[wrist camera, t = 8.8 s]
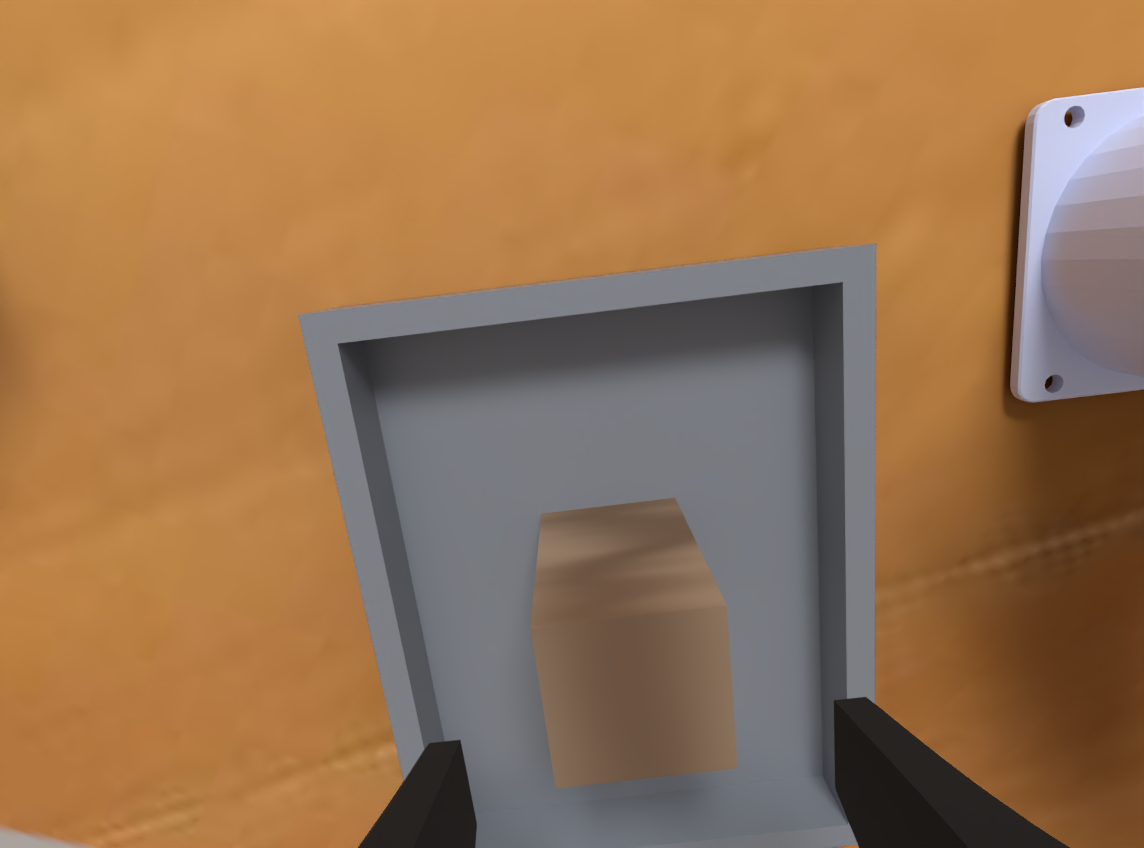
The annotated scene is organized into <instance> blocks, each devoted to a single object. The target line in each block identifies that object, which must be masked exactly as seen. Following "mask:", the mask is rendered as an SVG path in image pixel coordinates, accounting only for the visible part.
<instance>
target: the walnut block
mask: <svg viewBox="0 0 1144 848" xmlns="http://www.w3.org/2000/svg"><path fill="white" fill-rule="evenodd" d="M531 635H532V641H533V647H534V654H535V660H536V666H537V673H538V679H539V685H540V692H541V698H542V705H543V711H544V717H545V724H546V730H547V736H548V743H549V749H550V755H551V762H552V768H553V774H554V781H555V787H556V789H557V788H567V787H576V786H585V785H594V784H603V783H612V782H621V781H630V780H639V779H648V778H657V777H666V776H675V775H684V774H693V773H702V772H711V771H720V770H729V769H738V765H737V751H736V736H735V721H734V706H733V691H732V676H731V662H730V647H729V632H728V617H727V605H726V603H725V601H724V599H723V597H722V595H721V593H720V590H719V588H718V586H717V584H716V582H715V580H714V578H713V576H712V574H711V572H710V570H709V567H708V565H707V563H706V561H705V559H704V557H703V555H702V553H701V551H700V549H699V547H698V544H697V542H696V540H695V538H694V536H693V534H692V532H691V530H690V528H689V526H688V524H687V521H686V519H685V517H684V515H683V513H682V511H681V509H680V507H679V505H678V503H677V501H676V498H668V499H660V500H652V501H643V502H635V503H626V504H618V505H610V506H601V507H593V508H584V509H576V510H568V511H559V512H551V513H543V514H541V522H540V533H539V543H538V554H537V564H536V575H535V586H534V596H533V607H532V618H531Z"/></svg>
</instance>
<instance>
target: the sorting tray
mask: <svg viewBox="0 0 1144 848" xmlns="http://www.w3.org/2000/svg"><path fill="white" fill-rule="evenodd" d="M298 317H299V321H300V326H301V330H302V335H303V339H304V343H305V348H306V352H307V357H308V361H309V365H310V370H311V374H312V379H313V383H314V387H315V392H316V396H317V401H318V405H319V409H320V414H321V418H322V423H323V427H324V431H325V436H326V440H327V445H328V449H329V453H330V458H331V462H332V467H333V471H334V475H335V480H336V484H337V489H338V493H339V497H340V502H341V506H342V511H343V515H344V519H345V524H346V528H347V533H348V537H349V541H350V546H351V550H352V555H353V559H354V563H355V568H356V572H357V577H358V581H359V585H360V590H361V594H362V599H363V603H364V608H365V612H366V616H367V621H368V625H369V630H370V634H371V638H372V643H373V647H374V652H375V656H376V660H377V665H378V669H379V674H380V678H381V682H382V687H383V691H384V696H385V700H386V704H387V709H388V713H389V718H390V722H391V726H392V731H393V735H394V740H395V744H396V748H397V753H398V757H399V762H400V766H401V770H402V775H403V779H404V780H405V778H406V777H407V775H408V774H409V772H410V771H411V769H412V768H413V766H414V765H415V763H416V761H417V760H418V758H419V757H420V755H421V754H422V752H423V751H424V749H425V748H426V747H427V745H428V744H429V743H434V742H444V741H453V740H461V745H462V750H463V755H464V760H465V765H466V770H467V775H468V780H469V786H470V791H471V796H472V801H473V806H474V811H475V816H476V821H477V833H476V845H475V848H831V847H840V846H850V845H858V843H857V841H856V839H855V836H854V834H853V831H852V829H851V827H850V824H849V822H848V820H847V817H846V814H845V812H844V809H843V807H842V804H841V802H840V799H839V797H838V794H837V792H836V789H835V754H834V700H840V699H850V698H859V697H867V698H868V699H869V700H871V701H872V702H873V703H874V704H875V440H876V244H867V245H853V246H839V247H828V248H820V249H812V250H804V251H796V252H788V253H779V254H771V255H763V256H755V257H747V258H739V259H731V260H722V261H714V262H706V263H698V264H690V265H682V266H674V267H665V268H657V269H649V270H641V271H633V272H625V273H617V274H608V275H600V276H592V277H584V278H576V279H568V280H560V281H551V282H543V283H535V284H527V285H519V286H511V287H503V288H495V289H486V290H478V291H470V292H462V293H454V294H446V295H438V296H429V297H421V298H413V299H405V300H397V301H389V302H381V303H372V304H364V305H356V306H348V307H340V308H333V309H327V310H322V311H316V312H311V313H305V314H300V315H298ZM668 498H676V501H677V503H678V505H679V507H680V509H681V511H682V513H683V515H684V517H685V519H686V521H687V524H688V526H689V528H690V530H691V532H692V534H693V536H694V538H695V540H696V542H697V544H698V547H699V549H700V551H701V553H702V555H703V557H704V559H705V561H706V563H707V565H708V567H709V570H710V572H711V574H712V576H713V578H714V580H715V582H716V584H717V586H718V588H719V590H720V593H721V595H722V597H723V599H724V601H725V603H726V605H727V617H728V632H729V647H730V662H731V676H732V691H733V706H734V721H735V736H736V751H737V765H738V769H729V770H720V771H711V772H702V773H693V774H684V775H675V776H666V777H657V778H648V779H639V780H630V781H621V782H612V783H603V784H594V785H585V786H576V787H567V788H557V789H556V787H555V781H554V774H553V768H552V762H551V755H550V749H549V743H548V736H547V730H546V724H545V717H544V711H543V705H542V698H541V692H540V685H539V679H538V673H537V666H536V660H535V654H534V647H533V641H532V635H531V618H532V607H533V596H534V586H535V575H536V564H537V554H538V543H539V533H540V522H541V514H543V513H551V512H559V511H568V510H576V509H584V508H593V507H601V506H610V505H618V504H626V503H635V502H643V501H652V500H660V499H668Z"/></svg>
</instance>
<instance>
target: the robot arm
mask: <svg viewBox="0 0 1144 848" xmlns="http://www.w3.org/2000/svg"><path fill="white" fill-rule="evenodd" d="M1067 110H1068V111H1069V112H1070V113H1071V114H1072V119H1073V120H1072V123H1071V125H1070V126H1069V127H1067V125H1066V124H1065V122H1064V116H1065V113H1066V111H1067ZM1050 376H1052V378H1053V381H1052V384H1051V386H1050V387H1049V388H1048V389H1045V382H1046V380H1047V379H1048V378H1049V377H1050ZM1010 388H1011V392H1012V394H1013V395H1014V397H1016V398H1018V399H1019V400H1022V401H1026V402H1042V401H1051V400H1059V399H1068V398H1076V397H1085V396H1093V395H1102V394H1110V393H1119V392H1127V391H1136V390H1144V87H1143V88H1135V89H1127V90H1119V91H1111V92H1104V93H1096V94H1088V95H1080V96H1072V97H1064V98H1056V99H1052V100H1049V101H1046V102H1043V103H1041V104H1038V105H1037V106H1036V107H1034V108H1033V109H1032V110H1031V112H1030V113H1029V115H1028V116H1027V120H1026V124H1025V140H1024V157H1023V174H1022V191H1021V208H1020V225H1019V243H1018V260H1017V277H1016V294H1015V311H1014V328H1013V345H1012V362H1011V379H1010ZM834 754H835V789H836V792H837V794H838V797H839V799H840V802H841V804H842V807H843V809H844V812H845V814H846V817H847V820H848V822H849V824H850V827H851V829H852V831H853V834H854V836H855V839H856V841H857V843H858V846H859V848H1069V847H1068V846H1066V845H1064V844H1063V843H1061V842H1060V841H1058V840H1056V839H1055V838H1053V837H1052V836H1050V835H1049V834H1047V833H1046V832H1044V831H1043V830H1041V829H1040V828H1038V827H1037V826H1035V825H1034V824H1032V823H1031V822H1029V821H1028V820H1026V819H1025V818H1024V817H1022V816H1021V815H1019V814H1018V813H1016V812H1015V811H1013V810H1012V809H1011V808H1009V807H1008V806H1006V805H1005V804H1003V803H1002V802H1001V801H999V800H998V799H996V798H995V797H993V796H992V795H991V794H989V793H988V792H987V791H985V790H984V789H982V788H981V787H980V786H978V785H977V784H976V783H974V782H973V781H972V780H970V779H969V778H968V777H966V776H965V775H964V774H962V773H961V772H960V771H958V770H957V769H956V768H954V767H953V766H952V765H951V764H949V763H948V762H947V761H945V760H944V759H943V758H941V757H940V756H939V755H938V754H936V753H935V752H934V751H933V750H931V749H930V748H929V747H928V746H926V745H925V744H924V743H923V742H921V741H920V740H919V739H918V738H916V737H915V736H914V735H913V734H911V733H910V732H909V731H908V730H906V729H905V728H904V727H903V726H901V725H900V724H899V723H898V722H897V721H895V720H894V719H893V718H892V717H890V716H889V715H888V714H887V713H885V712H884V711H883V710H882V709H881V708H879V707H878V706H877V705H876V704H874V703H873V702H872V701H871V700H869V699H868V698H867V697H859V698H850V699H840V700H834ZM476 833H477V821H476V816H475V811H474V806H473V801H472V796H471V791H470V786H469V780H468V775H467V770H466V765H465V760H464V755H463V750H462V745H461V740H453V741H444V742H434V743H429V744H428V745H427V747H426V748H425V749H424V751H423V752H422V754H421V755H420V757H419V758H418V760H417V761H416V763H415V765H414V766H413V768H412V769H411V771H410V772H409V774H408V775H407V777H406V778H405V780H404V782H403V783H402V785H401V786H400V788H399V789H398V791H397V792H396V794H395V795H394V797H393V798H392V800H391V801H390V803H389V804H388V806H387V807H386V809H385V810H384V811H383V813H382V814H381V816H380V817H379V819H378V820H377V821H376V823H375V824H374V826H373V827H372V828H371V830H370V831H369V833H368V834H367V836H366V837H365V838H364V840H363V841H362V843H361V844H360V845H359V847H358V848H475V845H476Z"/></svg>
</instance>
